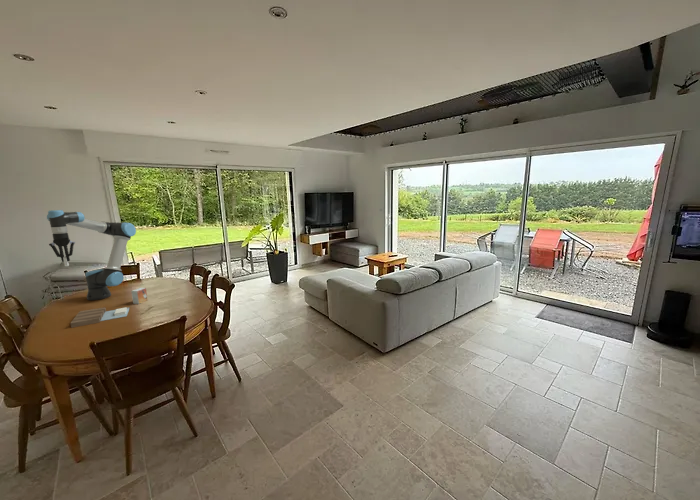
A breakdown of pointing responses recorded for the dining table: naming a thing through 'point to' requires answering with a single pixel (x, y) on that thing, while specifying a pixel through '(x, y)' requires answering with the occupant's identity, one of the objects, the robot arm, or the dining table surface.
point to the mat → (112, 315)
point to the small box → (139, 295)
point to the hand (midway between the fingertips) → (66, 266)
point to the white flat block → (120, 311)
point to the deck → (88, 317)
